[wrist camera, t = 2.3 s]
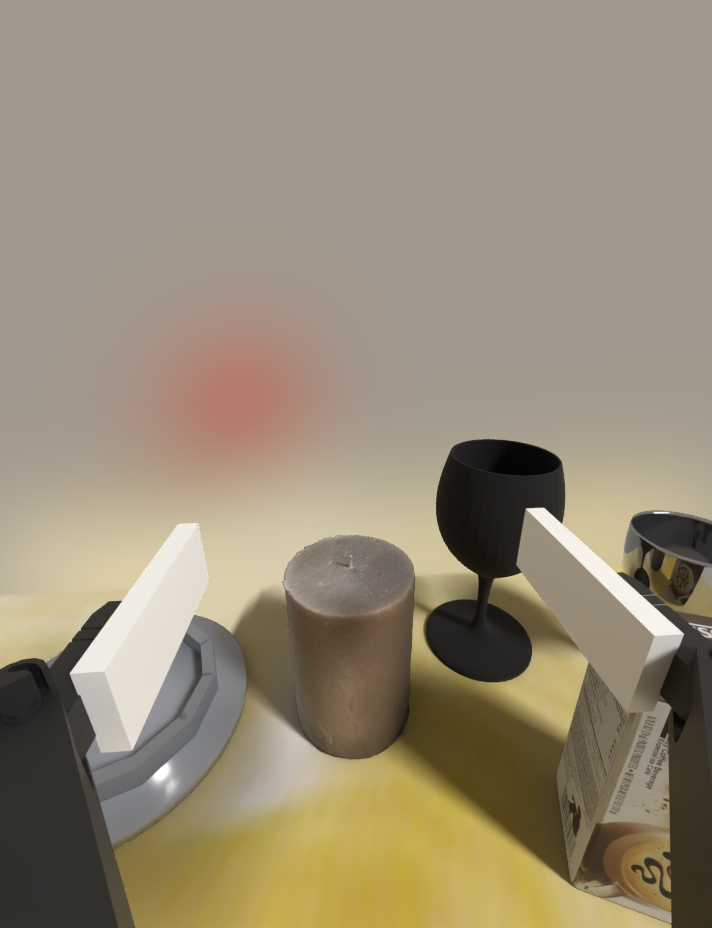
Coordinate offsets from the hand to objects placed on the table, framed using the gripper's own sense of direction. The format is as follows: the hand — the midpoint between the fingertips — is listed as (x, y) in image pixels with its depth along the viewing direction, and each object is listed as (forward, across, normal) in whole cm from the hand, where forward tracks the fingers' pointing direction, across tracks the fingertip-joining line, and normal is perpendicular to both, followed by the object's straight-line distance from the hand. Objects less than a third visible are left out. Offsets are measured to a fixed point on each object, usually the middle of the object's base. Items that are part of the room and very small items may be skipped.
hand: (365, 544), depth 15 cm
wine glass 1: (+16, +13, -23) cm, 30 cm away
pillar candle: (+10, 0, -23) cm, 25 cm away
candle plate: (+10, -20, -22) cm, 31 cm away
